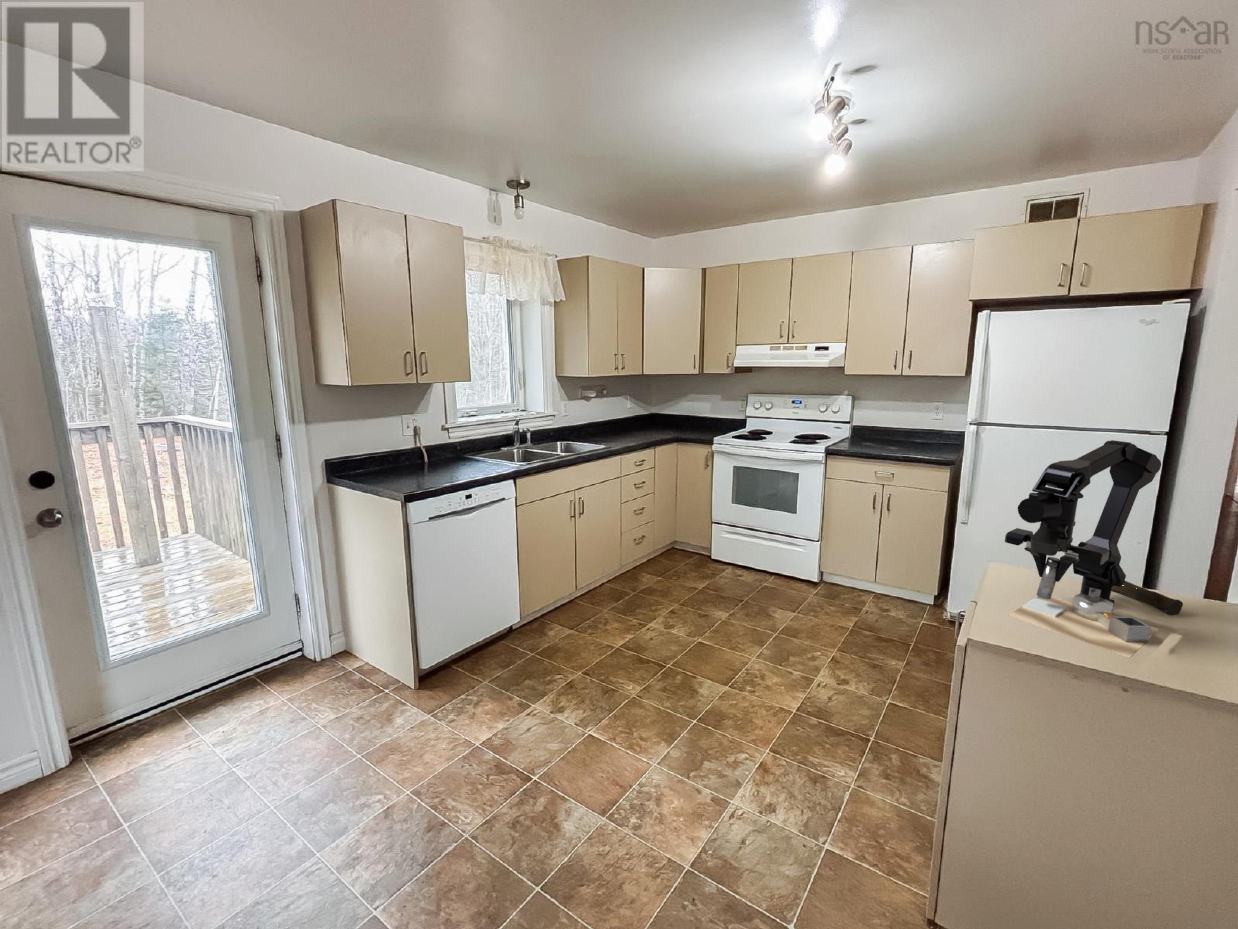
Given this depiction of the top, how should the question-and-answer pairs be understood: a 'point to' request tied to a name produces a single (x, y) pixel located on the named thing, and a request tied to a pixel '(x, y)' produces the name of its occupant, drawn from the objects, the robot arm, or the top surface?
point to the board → (1079, 628)
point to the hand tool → (1150, 597)
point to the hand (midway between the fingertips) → (1049, 579)
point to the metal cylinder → (1048, 578)
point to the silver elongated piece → (1109, 617)
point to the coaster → (1044, 607)
